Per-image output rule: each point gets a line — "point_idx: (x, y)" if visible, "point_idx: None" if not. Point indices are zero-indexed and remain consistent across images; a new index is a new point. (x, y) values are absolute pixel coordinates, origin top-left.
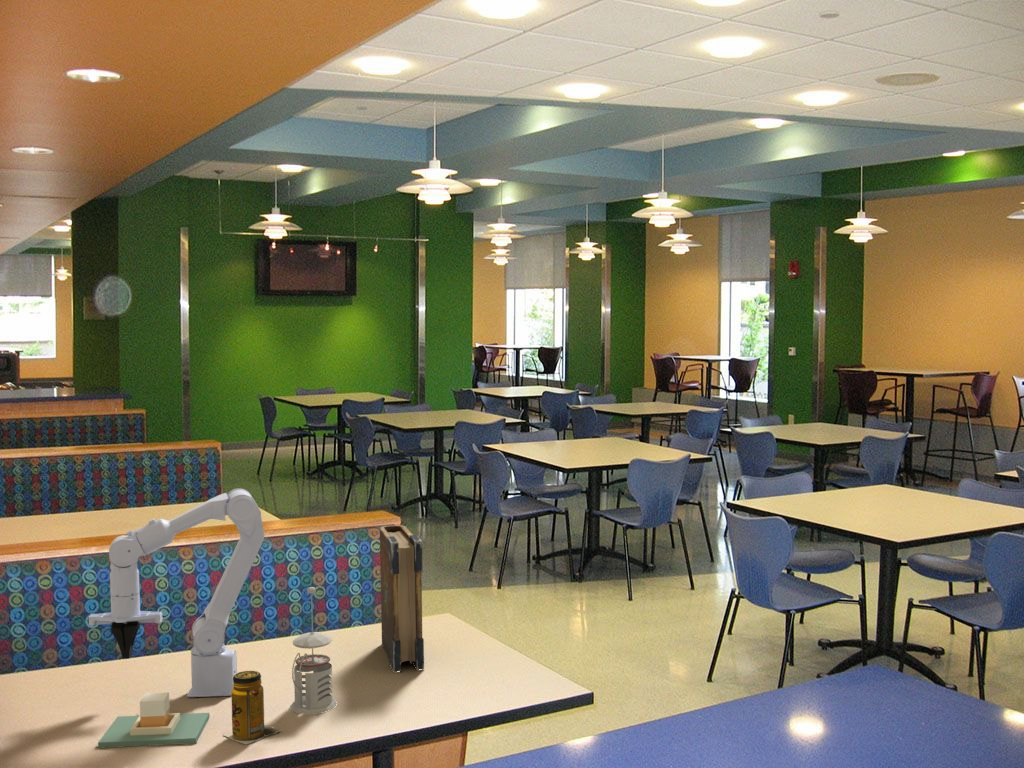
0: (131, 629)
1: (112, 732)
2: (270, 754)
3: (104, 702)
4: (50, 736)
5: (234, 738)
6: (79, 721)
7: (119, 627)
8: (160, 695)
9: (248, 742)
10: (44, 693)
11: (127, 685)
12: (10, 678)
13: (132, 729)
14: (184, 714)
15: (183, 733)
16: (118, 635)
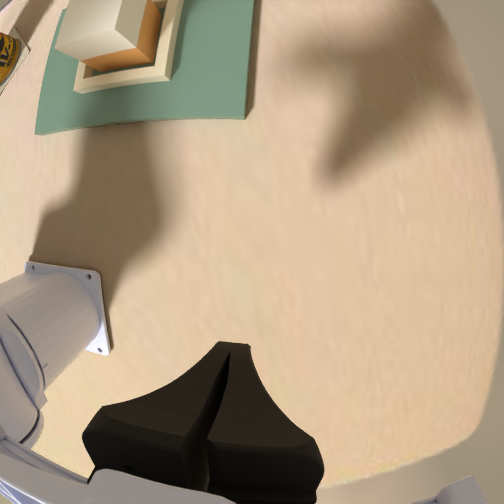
0: (111, 418)
1: (232, 12)
2: (2, 13)
3: (316, 287)
4: (397, 62)
5: (20, 43)
6: (357, 144)
7: (240, 480)
8: (75, 22)
9: (10, 35)
10: (448, 362)
11: (274, 393)
12: (477, 422)
13: None
14: (74, 121)
15: None
16: (250, 418)
